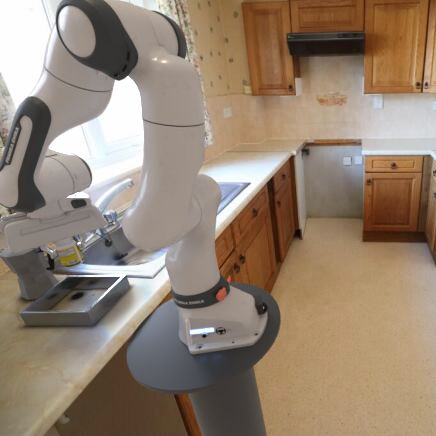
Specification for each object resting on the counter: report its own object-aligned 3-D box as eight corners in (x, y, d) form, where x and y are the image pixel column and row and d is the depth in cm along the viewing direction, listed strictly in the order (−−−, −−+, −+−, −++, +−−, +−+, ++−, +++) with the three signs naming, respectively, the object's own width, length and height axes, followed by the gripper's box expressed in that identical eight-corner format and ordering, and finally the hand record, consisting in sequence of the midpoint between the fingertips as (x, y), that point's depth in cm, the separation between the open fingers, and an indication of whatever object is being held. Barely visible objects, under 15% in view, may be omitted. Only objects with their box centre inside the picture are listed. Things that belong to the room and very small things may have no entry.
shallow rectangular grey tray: (130, 286, 100) (126, 274, 98) (93, 325, 84) (87, 312, 83) (72, 287, 100) (67, 275, 98) (25, 326, 85) (18, 312, 83)
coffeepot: (7, 301, 95) (-23, 248, 88) (33, 282, 104) (8, 233, 96) (58, 299, 95) (32, 246, 87) (80, 280, 104) (58, 231, 96)
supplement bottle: (72, 259, 91) (60, 233, 87) (88, 259, 90) (77, 232, 87) (59, 269, 86) (46, 241, 83) (75, 268, 86) (63, 241, 83)
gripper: (-9, 222, 73) (19, 273, 78) (97, 197, 85) (114, 242, 91) (-8, 214, 77) (18, 263, 83) (92, 191, 89) (109, 235, 95)
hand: (69, 252), depth 87 cm, fingers closed on supplement bottle, 5 cm apart
